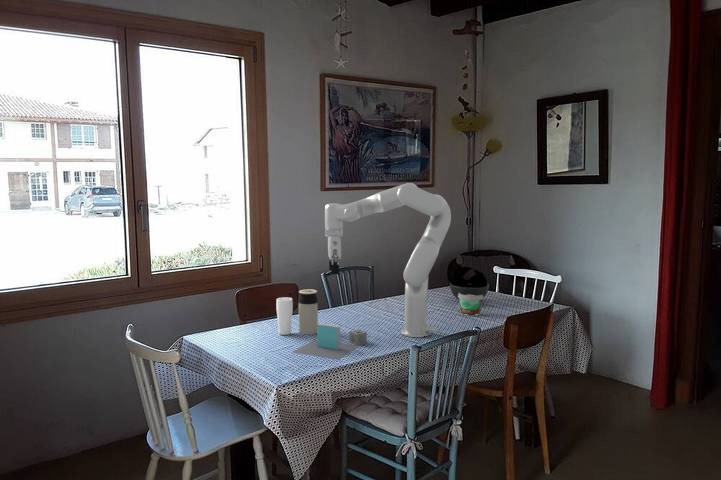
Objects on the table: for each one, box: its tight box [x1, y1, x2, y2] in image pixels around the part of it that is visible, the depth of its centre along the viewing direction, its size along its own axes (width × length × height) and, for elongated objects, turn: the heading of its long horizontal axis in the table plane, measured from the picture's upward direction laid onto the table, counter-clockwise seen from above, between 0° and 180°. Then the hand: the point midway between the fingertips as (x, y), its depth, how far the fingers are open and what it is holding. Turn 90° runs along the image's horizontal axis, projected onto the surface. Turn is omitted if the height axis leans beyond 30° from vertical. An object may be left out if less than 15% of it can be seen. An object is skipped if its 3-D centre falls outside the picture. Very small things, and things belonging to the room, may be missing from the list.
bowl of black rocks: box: [449, 266, 490, 302], centre depth 305 cm, size 20×20×19 cm
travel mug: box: [298, 288, 319, 335], centre depth 250 cm, size 8×8×18 cm
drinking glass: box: [275, 296, 294, 336], centre depth 248 cm, size 7×7×15 cm
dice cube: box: [348, 329, 368, 346], centre depth 235 cm, size 5×5×5 cm
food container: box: [458, 292, 485, 315], centre depth 282 cm, size 12×6×10 cm, turn 68°
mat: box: [292, 339, 360, 361], centre depth 228 cm, size 20×18×1 cm
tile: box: [316, 322, 341, 350], centre depth 229 cm, size 9×2×9 cm, turn 66°
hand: (334, 271), depth 253 cm, fingers open, 9 cm apart
